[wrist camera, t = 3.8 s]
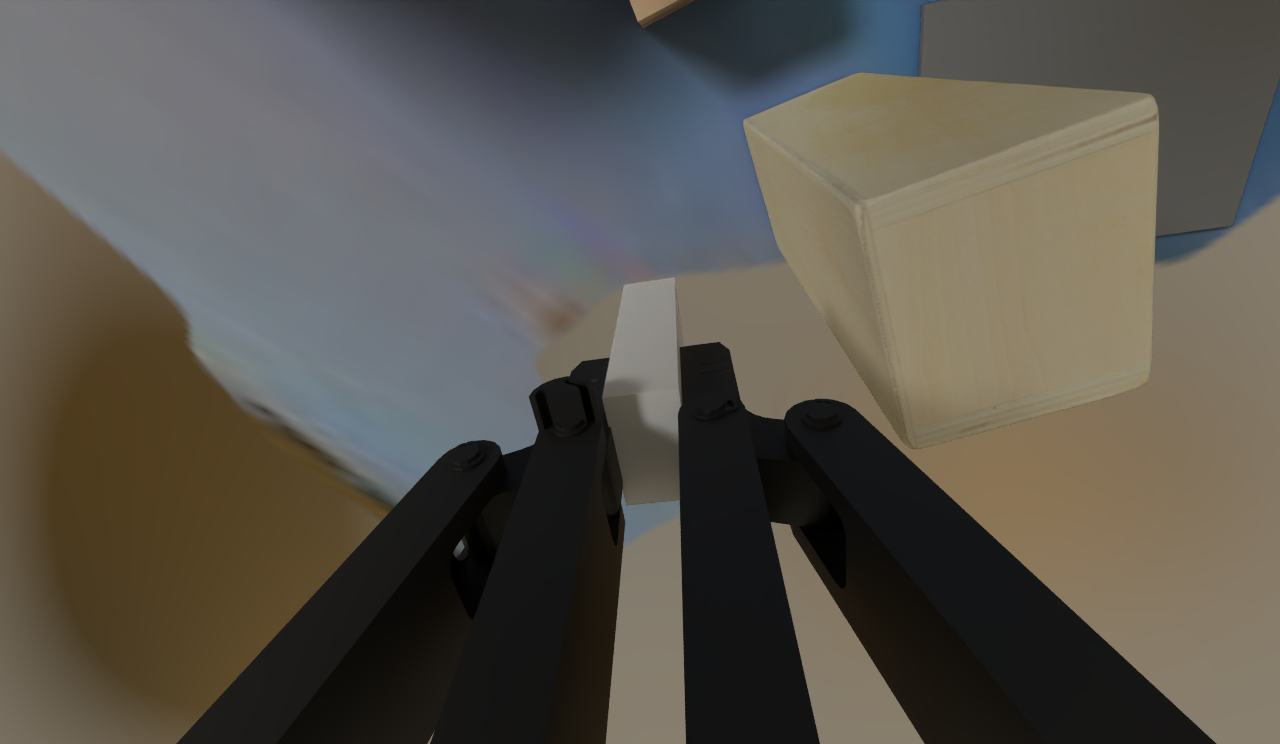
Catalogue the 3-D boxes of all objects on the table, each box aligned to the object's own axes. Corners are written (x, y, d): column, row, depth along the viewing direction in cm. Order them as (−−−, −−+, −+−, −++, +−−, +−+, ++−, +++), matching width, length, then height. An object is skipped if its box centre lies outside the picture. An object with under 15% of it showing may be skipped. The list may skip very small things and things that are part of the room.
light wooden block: (900, 207, 34) (1184, 382, 15) (778, 250, 35) (902, 458, 17) (874, 64, 30) (1201, 68, 12) (740, 119, 32) (845, 198, 13)
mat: (906, 268, 35) (909, 270, 35) (921, 4, 29) (924, 4, 29) (1226, 223, 33) (1232, 225, 33) (1319, -71, 27) (1328, -73, 27)
